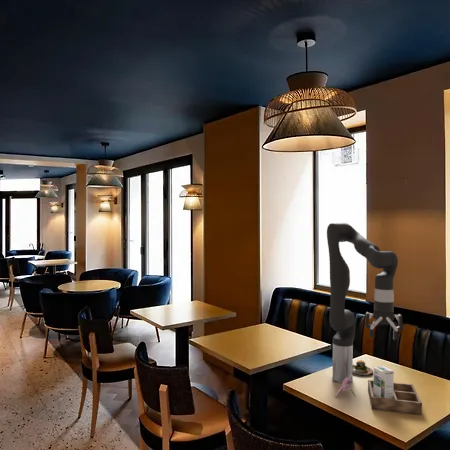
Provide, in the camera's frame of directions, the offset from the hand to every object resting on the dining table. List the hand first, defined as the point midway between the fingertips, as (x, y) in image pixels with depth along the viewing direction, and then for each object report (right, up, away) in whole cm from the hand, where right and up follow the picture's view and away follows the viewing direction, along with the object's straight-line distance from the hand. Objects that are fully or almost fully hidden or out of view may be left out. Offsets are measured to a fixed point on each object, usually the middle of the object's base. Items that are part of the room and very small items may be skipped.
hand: (383, 338), depth 162 cm
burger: (+3, -28, +36) cm, 46 cm away
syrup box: (0, -27, 0) cm, 27 cm away
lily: (-13, -28, +10) cm, 32 cm away
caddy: (+5, -28, +3) cm, 28 cm away
